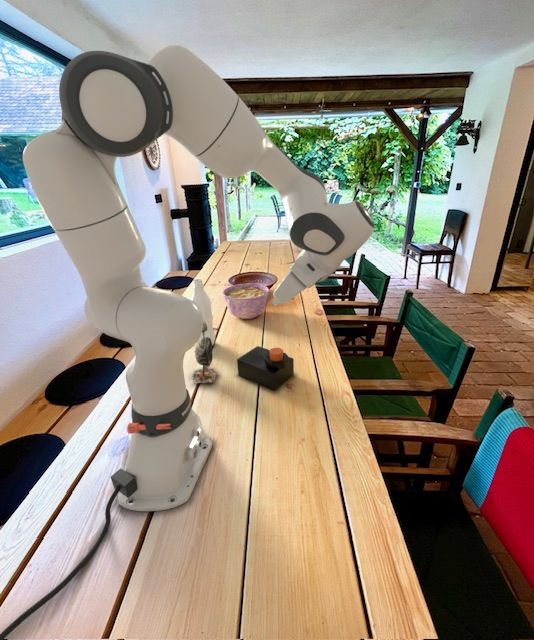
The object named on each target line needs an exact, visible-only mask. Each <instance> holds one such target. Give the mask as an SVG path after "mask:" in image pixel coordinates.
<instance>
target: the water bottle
mask: <svg viewBox="0 0 534 640" xmlns="http://www.w3.org/2000/svg"><path fill="white" fill-rule="evenodd" d="M192 287H193V293H192V296H191V298H190V300H191V301H193V302H195V303H196V304H197V305H198V306H199V308H200V310H201V312H202V316H203V321H204V322H205V323H206V325H207V331H205V333H204V336H203V332H202V333H201V336H200V338H199V339H198V341H197V343H196V344H197V345H198V343H199V342H200V340H201V339H202V338H204V337H209V338H210V339H211V343H212V347H213V346H214V344H215V343H216V333H215V330H214V326H213V321H214V315H213V309H212V300H211V298H210V296H209V294H208V293H207V292H206V291H205V288H204V287H205V286H204V281H203V279H202V278H195V279H193V286H192Z"/></svg>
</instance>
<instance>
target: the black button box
mask: <svg viewBox="0 0 534 640" xmlns="http://www.w3.org/2000/svg"><path fill="white" fill-rule="evenodd" d="M269 351H270V349H268V348H264V347H262V346H259V345H256V346H255V347H254V348H252V349H250V350H249V351H247V352H246V353H244V354H243V355H241V356H240V357H238V358H237V359H236V364H237V375H238V377H241V378H243V379H245V380H248V381H250V382H252V383H254V384H256V385H258V386H261V387H263V388H265V389H267V390H270V391H273V392H276V391H277V390H278V389H279V388H280V387H282V386H283V385H284V384H285V383H286V382H287V381H289V380H290V379H291V378H292V377H293V376H294V375H295V374H294V373H295V372H294V370H295V368H294V365H295V364H294V357H290V356H289V355H288V354H287V353H286V352H283V360H282V361H278V362H276V361H271V360H270V354H269Z"/></svg>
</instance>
